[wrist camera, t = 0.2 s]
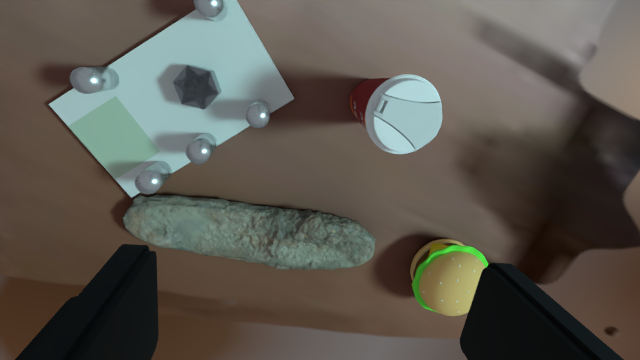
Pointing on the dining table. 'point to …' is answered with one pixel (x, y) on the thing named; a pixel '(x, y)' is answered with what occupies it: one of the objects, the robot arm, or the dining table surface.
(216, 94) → the grey faceted hexagonal block
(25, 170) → the dining table surface
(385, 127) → the paper cup
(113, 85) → the spacers
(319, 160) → the dining table surface
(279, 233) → the elongated rock
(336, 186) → the dining table surface
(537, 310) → the robot arm
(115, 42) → the dining table surface
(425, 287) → the hamburger
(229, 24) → the board
